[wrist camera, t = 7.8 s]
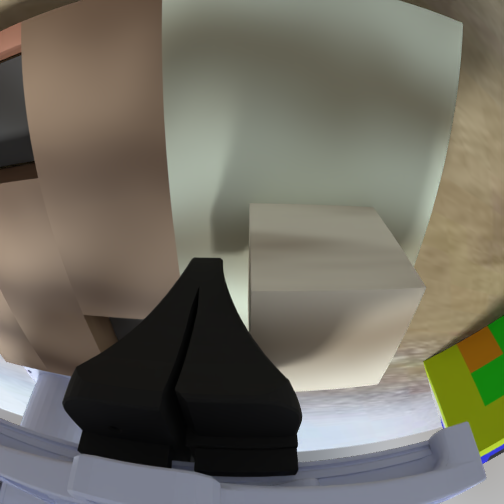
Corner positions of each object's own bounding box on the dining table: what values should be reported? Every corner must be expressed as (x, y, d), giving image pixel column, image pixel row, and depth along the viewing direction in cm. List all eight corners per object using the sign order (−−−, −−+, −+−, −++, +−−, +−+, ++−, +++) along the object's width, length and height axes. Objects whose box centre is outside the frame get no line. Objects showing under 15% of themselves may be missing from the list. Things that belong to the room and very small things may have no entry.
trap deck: (353, 359, 22) (360, 386, 20) (17, 340, 21) (6, 361, 19) (431, 24, 10) (463, 23, 8) (-71, 83, 9) (-98, 94, 7)
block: (350, 299, 15) (377, 384, 11) (247, 300, 15) (248, 392, 11) (373, 207, 12) (425, 287, 8) (249, 202, 12) (251, 291, 8)
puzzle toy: (433, 399, 28) (457, 476, 20) (422, 360, 23) (459, 462, 15) (507, 357, 25) (540, 428, 17) (514, 306, 20) (566, 394, 12)
